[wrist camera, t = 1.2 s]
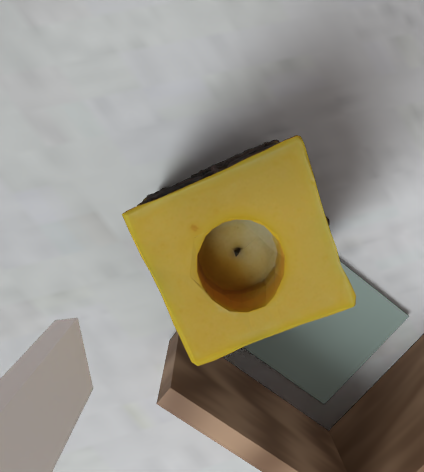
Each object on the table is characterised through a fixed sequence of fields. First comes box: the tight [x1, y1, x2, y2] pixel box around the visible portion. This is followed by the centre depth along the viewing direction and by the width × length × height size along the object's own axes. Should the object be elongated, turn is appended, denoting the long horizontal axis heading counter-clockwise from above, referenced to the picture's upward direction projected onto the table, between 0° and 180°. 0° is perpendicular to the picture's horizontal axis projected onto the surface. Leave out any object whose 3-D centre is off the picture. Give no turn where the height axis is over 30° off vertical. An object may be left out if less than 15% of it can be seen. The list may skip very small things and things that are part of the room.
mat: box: [243, 262, 409, 404], centre depth 30 cm, size 11×11×1 cm
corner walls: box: [157, 332, 424, 472], centre depth 26 cm, size 19×16×8 cm
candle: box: [122, 135, 356, 366], centre depth 23 cm, size 10×10×10 cm
